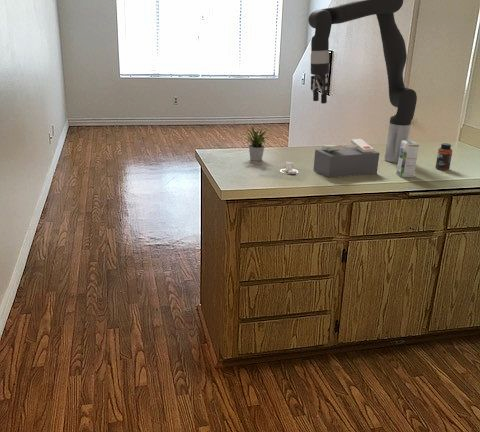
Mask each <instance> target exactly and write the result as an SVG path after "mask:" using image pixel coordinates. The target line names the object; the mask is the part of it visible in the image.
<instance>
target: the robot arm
mask: <svg viewBox="0 0 480 432" xmlns="http://www.w3.org/2000/svg"><path fill="white" fill-rule="evenodd" d="M403 4H404V0H355V1H350V2H346V3H341V4H337V5H335V6H330V7H326V8H320V9H316V10H314V11H312V12H311V13H310V14H309V16H308V19H307V21H308V24H309V26H310V27H311V28H313V29H315V30H314V35H312V37H311V40H310V47H311V51H310V52H311V53H310V74H311V76H310V91H311V92H312V94H313V96H312V98H313V99H312V100H313V102H319V101H320V104H327V103H328V94H329V93H330V77H326V75H328V74H329V73H330V52H329V48H330V47H329V43H330V41H329V39H330V35H331V31H332V30H331V29H332V25H340V24H343V23H348V22H351V21H354V20H359V19H361V18H366V17H369V16H374V15H376V19H377V22H378V26H379V30H380V39H381V44H382V52H383V56H384V57H383V59H384V62H385V67H386V74H387V83H388V98H389V102H390V104H391V105H392V106H393V107H394V108H397V110H396V113H395V114H393V115H391V116H390V118H389V122H388V123H389V125H388V130H387V131H388V132H387V137H386V144H385V153H384V160H385V161H386V162H390V163H395V164H398V160H399V154H400V148H401V142H402V141H404V140H409V136H410V129H411V124H412V120H413V119H414V117H415V116H414V115H415V111H416V108H417V107H416V106H417V101H418V99H417V98H418V95H417V92H416V91H415V90H414V89H413V88H409V87H406V86H405V81H404V76H403V75H404V74H403V73H404V70H405V69H404V68H405V66H406V64H407V58H408V57H407V56H408V54H407V49H406V47H407V46H406V42H405V39H404V36H403V34H402V33H401V30H400V29H399V28H398V25H397V23H396V19H395V13H397V12H398V11H400V9H401V8H402V7H403ZM319 91H320V94H319ZM319 95H320V98H319Z"/></svg>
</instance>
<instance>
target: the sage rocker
mask: <svg viewBox="0 0 480 432" xmlns="http://www.w3.org/2000/svg"><path fill="white" fill-rule="evenodd" d="M321 149H327V151H339V150H340V149H346V145H341V144H340V145H335V144H330V145H328V144H327V145H321Z"/></svg>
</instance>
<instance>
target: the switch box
mask: <svg viewBox="0 0 480 432" xmlns="http://www.w3.org/2000/svg"><path fill="white" fill-rule="evenodd" d="M379 158H380V152H378V151H376V150H375V149H374V150H373V152H365V153H363V152H362V151H360V150H359V149H356V148H355V146H347V147H346V149H340V150H339V151H327V149H322V148H318V149H316V148H315V151H314V160H313V171H315V172H316V173H318V174H320V175H322V176H324V177H325V178H328V179H331V178H334V179H335V178H342V177H343V178H344V177H354V176H361V175H362V176H363V175H375V174H377V173H378V169H379V168H378V167H379V160H380V159H379Z"/></svg>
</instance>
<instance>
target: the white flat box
mask: <svg viewBox="0 0 480 432" xmlns="http://www.w3.org/2000/svg"><path fill="white" fill-rule="evenodd" d="M350 144H351V145H353V147H355V148H356V149H359V150H360V151H362V152H363V153H365V152H373V150H374V151H375V148H373V146H371V145H369V143H367V142H366V141H364V140H363V139H362V138H353V139H350Z"/></svg>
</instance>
